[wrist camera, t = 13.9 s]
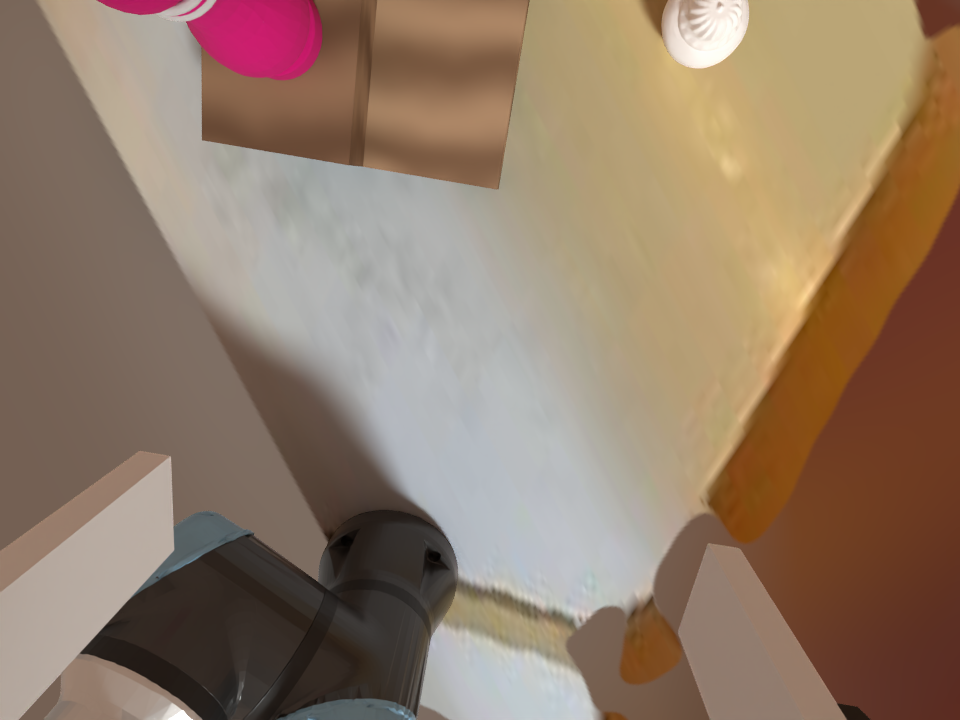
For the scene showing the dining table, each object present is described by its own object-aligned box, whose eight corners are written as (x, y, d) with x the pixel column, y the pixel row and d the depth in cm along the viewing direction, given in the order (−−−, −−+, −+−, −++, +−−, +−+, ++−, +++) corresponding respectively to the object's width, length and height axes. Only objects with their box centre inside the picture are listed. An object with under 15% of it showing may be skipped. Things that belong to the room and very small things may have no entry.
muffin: (639, 66, 44) (662, 46, 37) (664, -20, 42) (692, -58, 35) (713, 84, 44) (749, 67, 37) (741, -2, 42) (784, -36, 35)
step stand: (498, 188, 47) (495, 190, 40) (251, 146, 47) (202, 140, 40) (533, -23, 42) (537, -68, 35) (256, -70, 42) (200, -125, 35)
